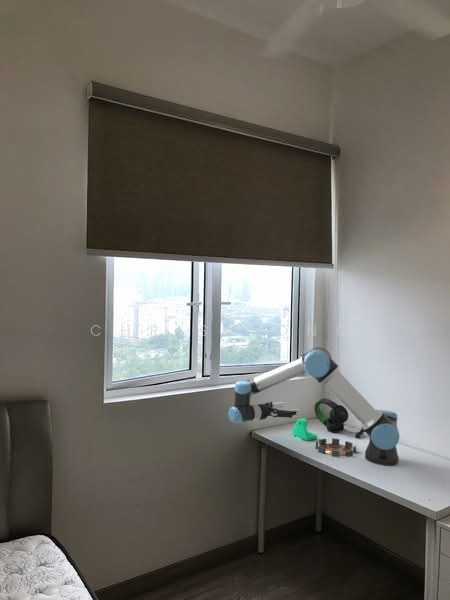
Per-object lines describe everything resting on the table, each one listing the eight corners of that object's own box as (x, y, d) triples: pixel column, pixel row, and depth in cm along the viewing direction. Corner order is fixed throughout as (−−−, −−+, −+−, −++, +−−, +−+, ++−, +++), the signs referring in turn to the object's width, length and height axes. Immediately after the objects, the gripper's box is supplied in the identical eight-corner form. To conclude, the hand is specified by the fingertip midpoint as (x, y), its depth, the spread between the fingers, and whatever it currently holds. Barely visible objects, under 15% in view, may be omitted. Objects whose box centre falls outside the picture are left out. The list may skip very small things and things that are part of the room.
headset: (349, 452, 259) (308, 417, 274) (363, 437, 266) (323, 404, 281) (357, 433, 247) (314, 398, 262) (372, 419, 254) (329, 385, 269)
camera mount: (317, 440, 250) (318, 420, 250) (306, 442, 246) (307, 422, 246) (302, 433, 260) (303, 414, 260) (291, 435, 256) (292, 416, 256)
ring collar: (364, 453, 233) (364, 448, 233) (335, 459, 223) (335, 454, 223) (335, 441, 250) (335, 436, 249) (307, 446, 239) (307, 441, 239)
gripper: (243, 413, 247) (275, 409, 258) (272, 427, 226) (306, 422, 237) (243, 398, 246) (276, 395, 258) (273, 411, 225) (307, 407, 237)
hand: (291, 408), depth 247 cm, fingers open, 13 cm apart
